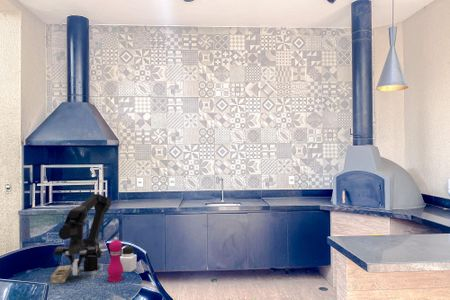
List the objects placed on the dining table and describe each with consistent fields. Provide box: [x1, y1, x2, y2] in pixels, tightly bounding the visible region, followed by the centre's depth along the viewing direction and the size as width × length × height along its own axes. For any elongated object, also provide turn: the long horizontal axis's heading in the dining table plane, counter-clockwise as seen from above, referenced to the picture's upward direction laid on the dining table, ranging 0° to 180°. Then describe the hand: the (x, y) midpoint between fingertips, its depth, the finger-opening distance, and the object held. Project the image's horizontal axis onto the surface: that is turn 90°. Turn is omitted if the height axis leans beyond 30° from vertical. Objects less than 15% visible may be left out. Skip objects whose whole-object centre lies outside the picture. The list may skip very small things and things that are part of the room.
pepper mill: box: [106, 236, 123, 283], centre depth 163 cm, size 7×7×20 cm
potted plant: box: [120, 245, 138, 273], centre depth 179 cm, size 7×7×12 cm
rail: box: [50, 265, 72, 284], centre depth 167 cm, size 6×17×3 cm, turn 15°
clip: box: [72, 258, 80, 276], centre depth 166 cm, size 2×7×6 cm, turn 14°
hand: (76, 267), depth 166 cm, fingers closed on clip, 2 cm apart
